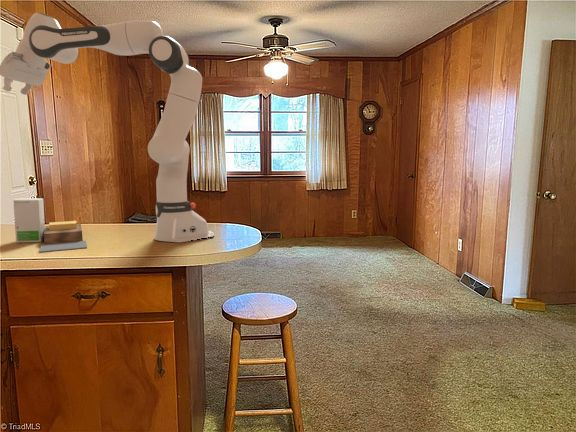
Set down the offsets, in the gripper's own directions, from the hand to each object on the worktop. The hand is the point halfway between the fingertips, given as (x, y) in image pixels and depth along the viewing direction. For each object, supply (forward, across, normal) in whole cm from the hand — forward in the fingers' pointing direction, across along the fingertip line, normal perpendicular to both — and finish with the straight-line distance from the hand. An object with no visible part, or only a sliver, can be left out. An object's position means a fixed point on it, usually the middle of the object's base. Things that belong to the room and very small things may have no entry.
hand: (15, 92), depth 149 cm
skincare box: (+45, -7, -30) cm, 55 cm away
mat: (+37, -16, -45) cm, 60 cm away
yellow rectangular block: (+37, -3, -37) cm, 52 cm away
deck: (+40, -4, -39) cm, 56 cm away
